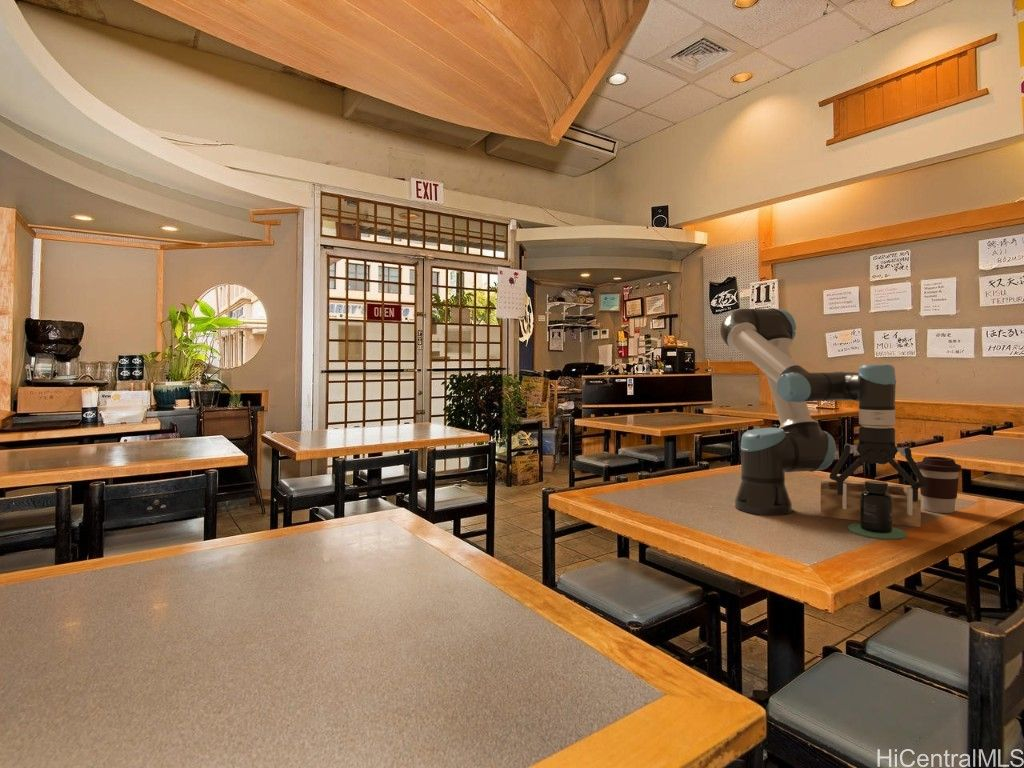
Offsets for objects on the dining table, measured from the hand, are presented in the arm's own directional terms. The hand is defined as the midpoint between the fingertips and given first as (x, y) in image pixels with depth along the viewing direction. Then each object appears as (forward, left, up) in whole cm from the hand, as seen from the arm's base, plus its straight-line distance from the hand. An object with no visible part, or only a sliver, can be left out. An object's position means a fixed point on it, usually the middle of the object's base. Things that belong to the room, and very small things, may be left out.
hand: (876, 511), depth 136 cm
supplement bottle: (0, 0, -5) cm, 5 cm away
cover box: (-1, +20, -5) cm, 21 cm away
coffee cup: (+17, +32, -6) cm, 37 cm away
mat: (0, 0, -5) cm, 5 cm away
